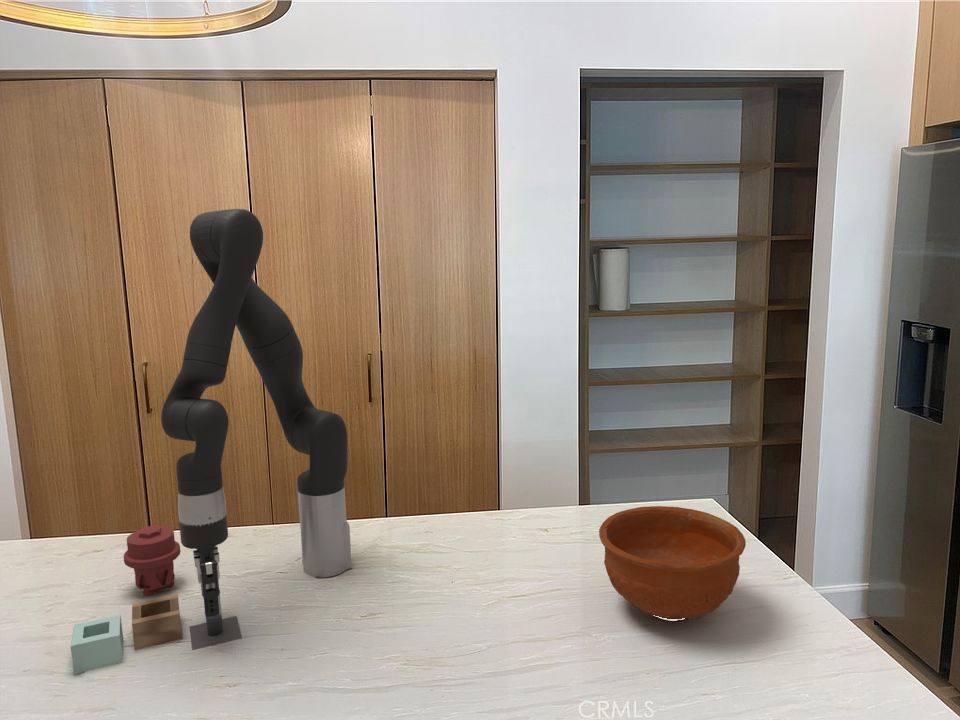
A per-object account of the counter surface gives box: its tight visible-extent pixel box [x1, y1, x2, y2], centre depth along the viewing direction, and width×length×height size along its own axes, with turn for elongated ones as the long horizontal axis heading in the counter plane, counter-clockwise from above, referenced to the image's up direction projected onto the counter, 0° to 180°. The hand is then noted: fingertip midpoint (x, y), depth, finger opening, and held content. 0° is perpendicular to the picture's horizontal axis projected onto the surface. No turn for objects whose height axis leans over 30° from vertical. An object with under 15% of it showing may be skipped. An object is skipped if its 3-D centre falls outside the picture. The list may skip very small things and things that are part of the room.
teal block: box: [69, 614, 125, 675], centre depth 122 cm, size 7×7×5 cm
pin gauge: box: [205, 579, 223, 636], centre depth 128 cm, size 3×3×11 cm
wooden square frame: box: [131, 593, 183, 651], centre depth 128 cm, size 7×7×5 cm
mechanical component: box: [123, 525, 182, 597], centre depth 144 cm, size 12×10×10 cm
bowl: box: [598, 505, 747, 620], centre depth 132 cm, size 25×25×15 cm
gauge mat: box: [188, 615, 243, 651], centre depth 129 cm, size 8×8×1 cm
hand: (210, 603), depth 128 cm, fingers open, 8 cm apart
